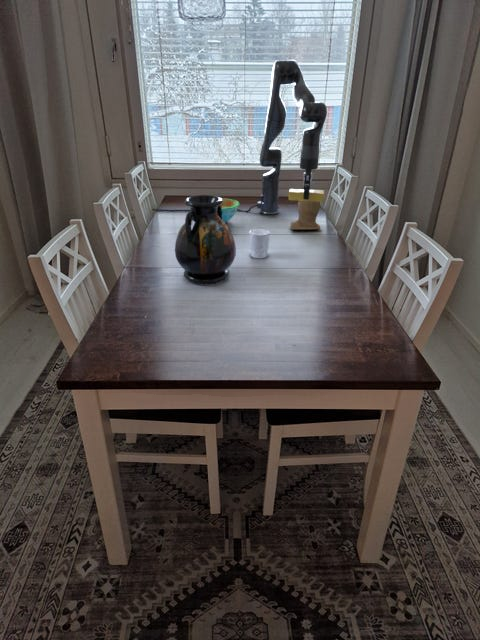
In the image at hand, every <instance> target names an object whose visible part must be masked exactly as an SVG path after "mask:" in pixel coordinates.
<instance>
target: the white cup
mask: <svg viewBox="0 0 480 640" xmlns="http://www.w3.org/2000/svg"><path fill="white" fill-rule="evenodd" d="M270 233H271V232H270V231H269V230H267V229H264V228H255V229H254V228H253V229H251V230H250V231H249V249H250V256H251V258H255V259H265V258H267V257H268V250H269V242H270Z"/></svg>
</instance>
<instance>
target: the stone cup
mask: <svg viewBox="0 0 480 640" xmlns="http://www.w3.org/2000/svg"><path fill="white" fill-rule="evenodd" d="M320 208H321V202H316V201H298V202H297V211H298V212H297V213H298V219H297V220H296V221H291V222H290V224H289V225H290V226H289V227H290V230H291V231H292V230H293V231H313V230H320V229H321V226H320V224H318V223H317V221H316V220H317V217H318V214H319V211H320Z"/></svg>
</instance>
